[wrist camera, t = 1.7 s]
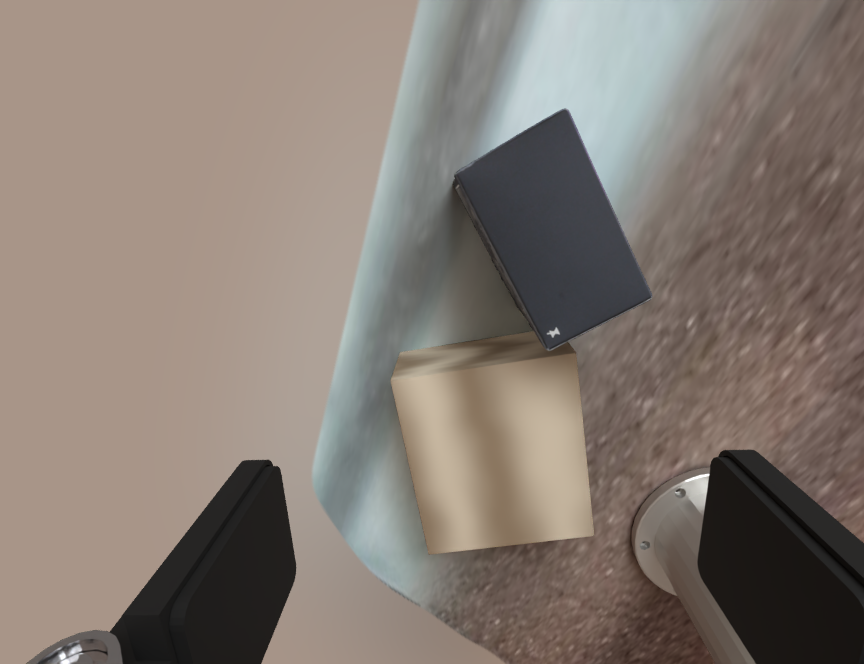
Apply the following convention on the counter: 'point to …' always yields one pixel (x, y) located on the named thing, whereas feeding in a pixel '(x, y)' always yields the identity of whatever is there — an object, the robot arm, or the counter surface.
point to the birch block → (494, 442)
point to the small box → (552, 231)
